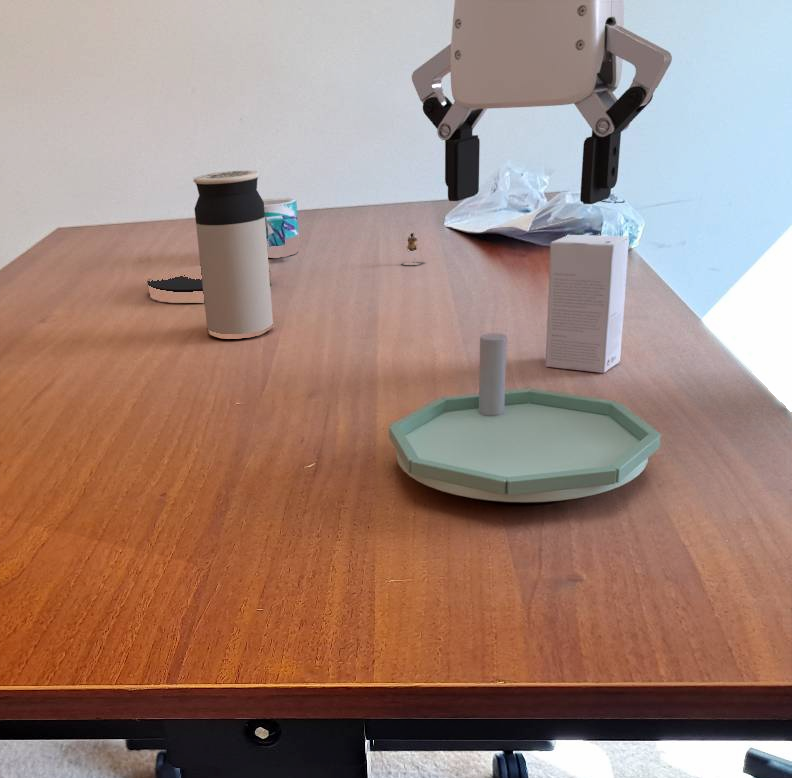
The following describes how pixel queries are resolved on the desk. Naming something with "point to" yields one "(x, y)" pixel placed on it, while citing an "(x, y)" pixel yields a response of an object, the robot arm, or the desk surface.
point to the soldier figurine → (412, 242)
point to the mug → (280, 220)
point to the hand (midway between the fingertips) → (526, 199)
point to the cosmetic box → (586, 302)
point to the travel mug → (233, 252)
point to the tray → (521, 440)
